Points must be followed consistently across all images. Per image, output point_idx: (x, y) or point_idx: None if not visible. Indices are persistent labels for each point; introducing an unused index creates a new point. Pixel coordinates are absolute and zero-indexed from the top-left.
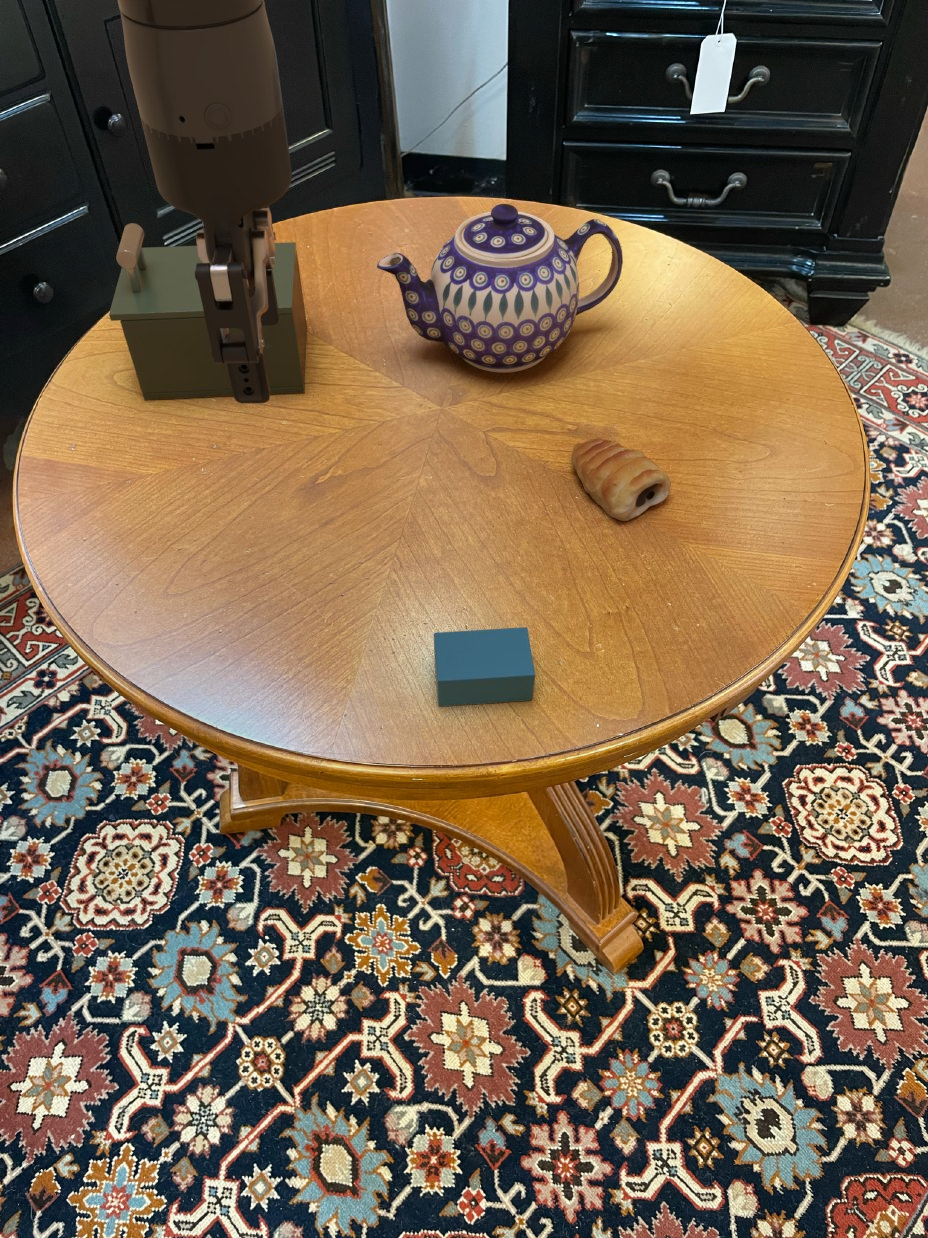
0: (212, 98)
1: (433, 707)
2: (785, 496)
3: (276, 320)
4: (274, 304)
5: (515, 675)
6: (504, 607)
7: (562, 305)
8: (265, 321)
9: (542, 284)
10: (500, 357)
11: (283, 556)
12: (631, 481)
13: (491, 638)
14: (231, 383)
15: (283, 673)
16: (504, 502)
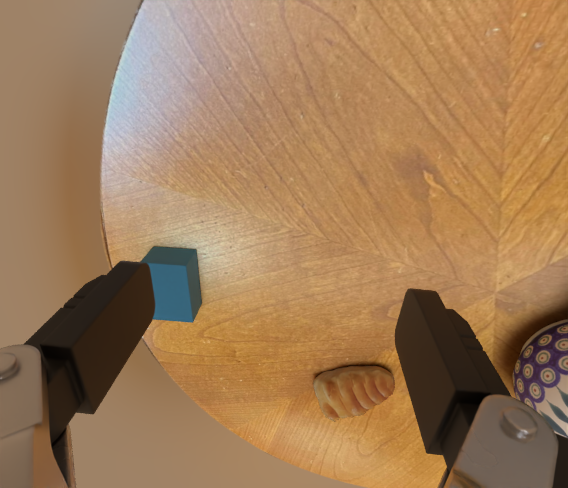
0: None
1: (153, 242)
2: (322, 448)
3: (395, 341)
4: (405, 373)
5: None
6: (243, 298)
7: None
8: (400, 322)
9: None
10: (522, 362)
11: (322, 134)
12: (328, 405)
13: (181, 300)
14: (97, 284)
15: (179, 132)
16: (353, 316)
